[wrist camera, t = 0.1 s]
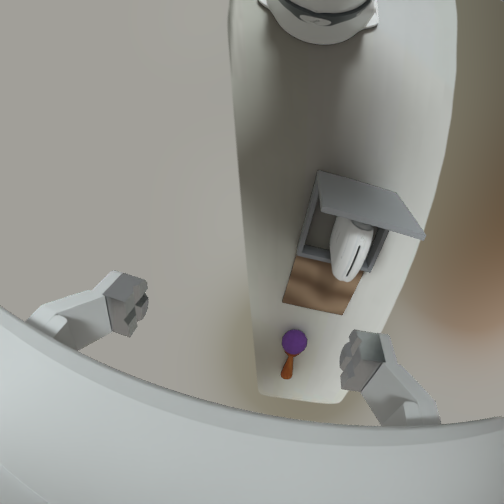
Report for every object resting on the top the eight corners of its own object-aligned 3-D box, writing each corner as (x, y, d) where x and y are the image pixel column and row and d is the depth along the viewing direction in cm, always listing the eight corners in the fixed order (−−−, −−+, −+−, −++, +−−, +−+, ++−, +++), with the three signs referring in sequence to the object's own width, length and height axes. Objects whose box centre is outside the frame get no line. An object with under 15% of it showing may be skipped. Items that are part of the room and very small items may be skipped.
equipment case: (317, 169, 45) (322, 205, 32) (396, 193, 44) (426, 235, 31) (297, 246, 53) (292, 300, 41) (367, 263, 53) (380, 318, 40)
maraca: (273, 379, 73) (279, 341, 61) (279, 363, 78) (287, 321, 66) (293, 385, 72) (305, 348, 60) (299, 368, 76) (311, 328, 64)
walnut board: (297, 252, 54) (297, 253, 54) (364, 267, 53) (364, 269, 53) (282, 300, 61) (282, 302, 61) (342, 313, 61) (342, 315, 60)
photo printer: (342, 193, 46) (352, 227, 36) (365, 199, 46) (380, 234, 36) (326, 243, 52) (329, 285, 42) (347, 248, 52) (355, 291, 41)
